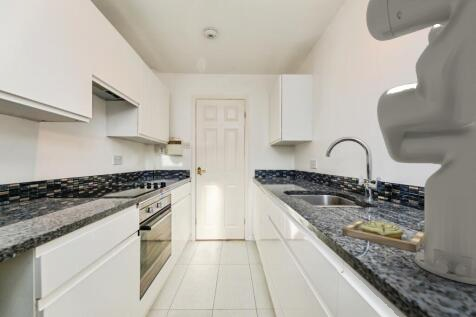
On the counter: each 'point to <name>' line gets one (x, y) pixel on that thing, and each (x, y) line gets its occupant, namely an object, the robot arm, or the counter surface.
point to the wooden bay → (383, 238)
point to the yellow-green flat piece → (382, 229)
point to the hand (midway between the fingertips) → (459, 135)
